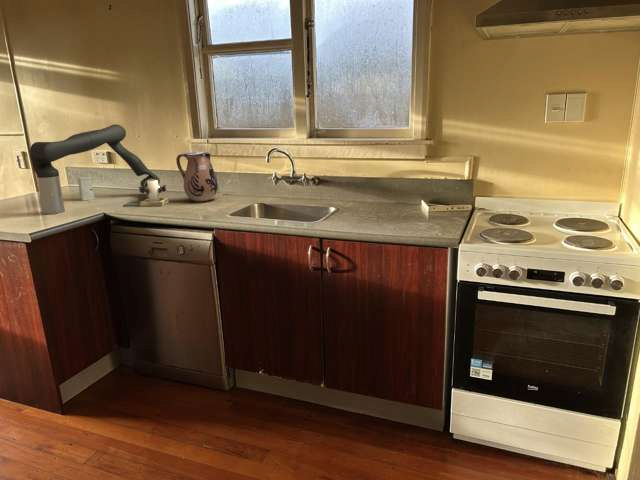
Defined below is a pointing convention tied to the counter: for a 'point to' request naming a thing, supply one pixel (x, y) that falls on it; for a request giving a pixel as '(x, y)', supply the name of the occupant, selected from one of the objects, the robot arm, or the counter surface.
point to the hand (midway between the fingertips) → (153, 191)
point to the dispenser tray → (156, 203)
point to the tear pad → (132, 203)
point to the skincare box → (85, 188)
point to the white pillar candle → (153, 190)
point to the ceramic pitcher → (198, 176)
